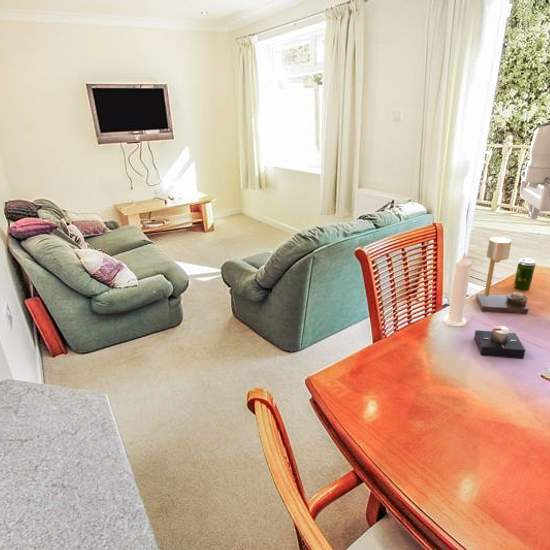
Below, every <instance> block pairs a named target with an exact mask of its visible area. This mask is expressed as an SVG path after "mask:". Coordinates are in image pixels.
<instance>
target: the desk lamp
mask: <svg viewBox="0 0 550 550" xmlns="http://www.w3.org/2000/svg"><path fill="white" fill-rule="evenodd" d="M511 247H512V239H511V238H508V237H503V236H492V237H489V240H488V246H487V251H486V257H487V258H488V259H490V261H489V266H488V270H487V271H488V272H487V278H486V283H485V288H484V293H483V294H484V296H487V297H488V296H489V294H490V292H491V291H490V290H491V286H492V280H493V275H494V270H495V265H496V263H501V261H505V260H508V259H509V257H510V252H511Z"/></svg>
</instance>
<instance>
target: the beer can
mask: <svg viewBox="0 0 550 550" xmlns="http://www.w3.org/2000/svg"><path fill="white" fill-rule="evenodd" d="M535 268H536V260H535V259H532V258H527V257H524V258H523V257H522V258H520V259H519V260H518V262H517V267H516V272H515V276H514V282H513V287H512V288H513V289H514V291H516V290H517V291H516V292H521V293H527V292H529V291H530V290H531V285H532V281H533V278H534V277H533V276H534V274H535V273H534V272H535Z"/></svg>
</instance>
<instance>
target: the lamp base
mask: <svg viewBox="0 0 550 550" xmlns="http://www.w3.org/2000/svg"><path fill="white" fill-rule="evenodd" d="M484 294H485V293H476V294H475V301H476V303H477V305H478V307H479V309H480V311H481V312H482V313H497V314H515V315H528V314H529V307H528V306H527V304H528V300H529V299H528V297H527V296H526V295H524V294H523V298H522V300H517V299H514V298H512V296H513V292H512V293H508V294H494V293H493V294H490V293H489V296H488V297H487V296H484Z"/></svg>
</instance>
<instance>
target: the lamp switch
mask: <svg viewBox="0 0 550 550" xmlns="http://www.w3.org/2000/svg"><path fill="white" fill-rule="evenodd" d="M512 293H513V296H512V298H514V299H517V300H522V298H523V295H524V292H519V291H514V292H512Z"/></svg>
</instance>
